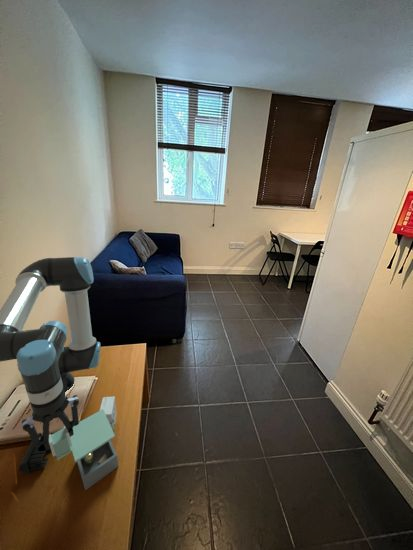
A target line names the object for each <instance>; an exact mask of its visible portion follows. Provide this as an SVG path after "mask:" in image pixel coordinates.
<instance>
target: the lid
mask: <svg viewBox="0 0 413 550" xmlns="http://www.w3.org/2000/svg"><path fill="white" fill-rule="evenodd" d="M73 432H74V434H73V436H71V437H70V439H71V443H72V446H71V447H69V444H68V440H67V436H66V433H65V429H64V427H63V428H61V429H60V430H58V431H56V432H54V433H51V434H52V435H51V437H52V442H53V447H54V450H55V453H56V456H55V457H56V460H57V461H59V460H60V459H62V458H64V457H65V456H68V455H69V454H70V453H71V452H72V455H73V459H74V462H75V463H76V464H77V461H79V460H80V459H82V458H83V457H85V456H87V455H88V454H90V453H91V452H93V451H94V450H96V449H97V448H99V447H101V446H102V445H104V444H105V443H107V442H108V441H110V440H111V441H112V440H113V439H114V438H116V434H115V431H114V432H113V430H112V428H111V426H110V423H109V421H108V419H107V417H106V415H105V412H104V410H103V409H102V410H100V409H99V410H98V411H96V412H95V413H93V414H91V415H89V416H87V417H86V418H84V419H82V420H81V421H79V424H78V425H77V426H74V427H73Z"/></svg>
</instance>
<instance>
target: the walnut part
mask: <svg viewBox="0 0 413 550" xmlns="http://www.w3.org/2000/svg"><path fill="white" fill-rule="evenodd" d="M109 458H110V457H109V456H108V455H106V454H105V455H104V456H103V457H102V458H101V459H100V460H99V461H98V464H99V465H100V464H101V463H103V462H104V461H106V460H107V459H109Z"/></svg>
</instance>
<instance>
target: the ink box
mask: <svg viewBox="0 0 413 550" xmlns="http://www.w3.org/2000/svg"><path fill="white" fill-rule="evenodd" d="M102 409H103V410H104V412H105V415H106V417H107V419H108V421H109V423H110V426H111V428H112V430H113V432H114V433H115V427H116V422H117V414H118V413H117V405H116V396H115V395H113V396H103V397H102V400H101V404H100V407H99V411H100V410H102Z"/></svg>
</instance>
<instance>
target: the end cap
mask: <svg viewBox="0 0 413 550" xmlns="http://www.w3.org/2000/svg"><path fill="white" fill-rule="evenodd" d="M37 433H38V432H37ZM50 434H51V435H52V434H53V433H50ZM38 435H39V437H42V432H39V433H38ZM49 451H50V452H51V448H50V449H48V450H46V449H45V446H44V444H41V445H40V446H39V447H37V448H36V447H35V445H34V443H33V441H32V440H31V442H30V444H29V446H28V447H27V450H26V452H24V453H25V454H24V456H23V458H22V460H21V461H20V463H19V465H18V471H19V472H21V473H22V474H32V473H33V472H32V471H35V470H39V469H40V470H41V469H44V468H45V467H46V466H47V463H48V460H49V458H48V457H47V458H44V457H45V454H46V452H49Z"/></svg>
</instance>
